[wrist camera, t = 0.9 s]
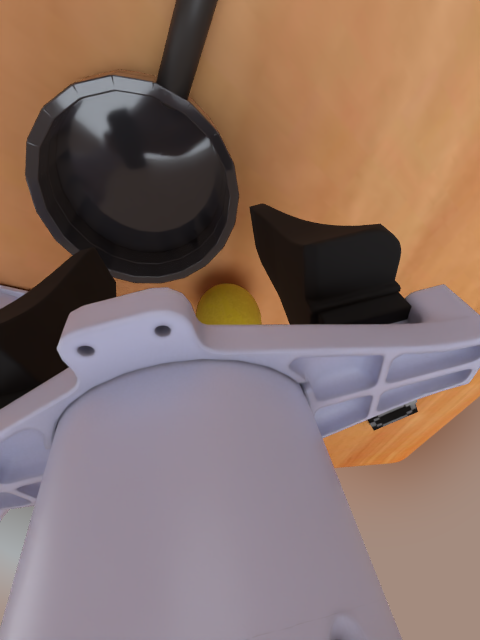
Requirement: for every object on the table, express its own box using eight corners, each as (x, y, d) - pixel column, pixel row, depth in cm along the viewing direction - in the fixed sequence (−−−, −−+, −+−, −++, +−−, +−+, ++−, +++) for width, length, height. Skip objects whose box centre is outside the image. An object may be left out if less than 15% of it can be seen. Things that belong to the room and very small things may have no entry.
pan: (194, 271, 26) (198, 299, 23) (41, 225, 21) (22, 254, 18) (257, 132, 19) (272, 148, 17) (56, 18, 15) (30, 12, 12)
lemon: (261, 289, 29) (285, 351, 23) (219, 321, 31) (232, 385, 25) (224, 254, 25) (241, 317, 20) (180, 292, 27) (183, 359, 21)
